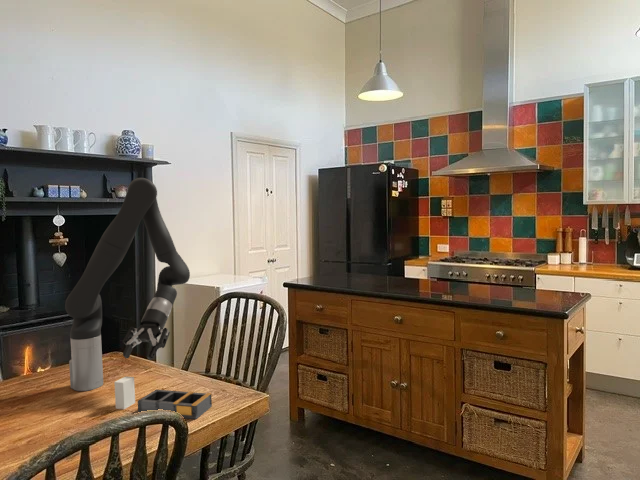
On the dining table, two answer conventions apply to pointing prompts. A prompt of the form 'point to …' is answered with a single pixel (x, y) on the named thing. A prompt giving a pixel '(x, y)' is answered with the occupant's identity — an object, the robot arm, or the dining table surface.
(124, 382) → the white rectangular block
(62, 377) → the dining table surface
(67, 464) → the dining table surface
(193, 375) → the dining table surface
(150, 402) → the slot rack
